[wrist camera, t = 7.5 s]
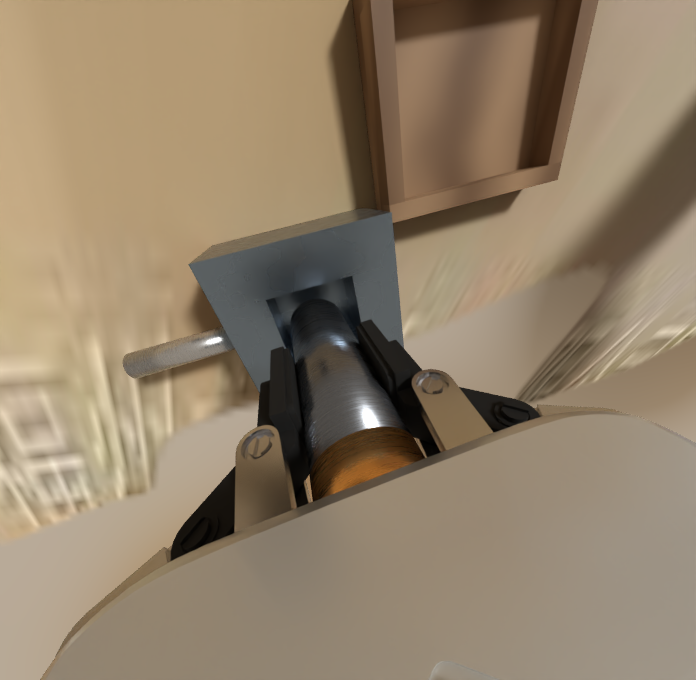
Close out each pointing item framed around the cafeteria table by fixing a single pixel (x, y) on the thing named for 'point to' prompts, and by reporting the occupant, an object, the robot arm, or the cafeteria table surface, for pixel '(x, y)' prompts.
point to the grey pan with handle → (287, 289)
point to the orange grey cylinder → (344, 405)
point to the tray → (467, 96)
